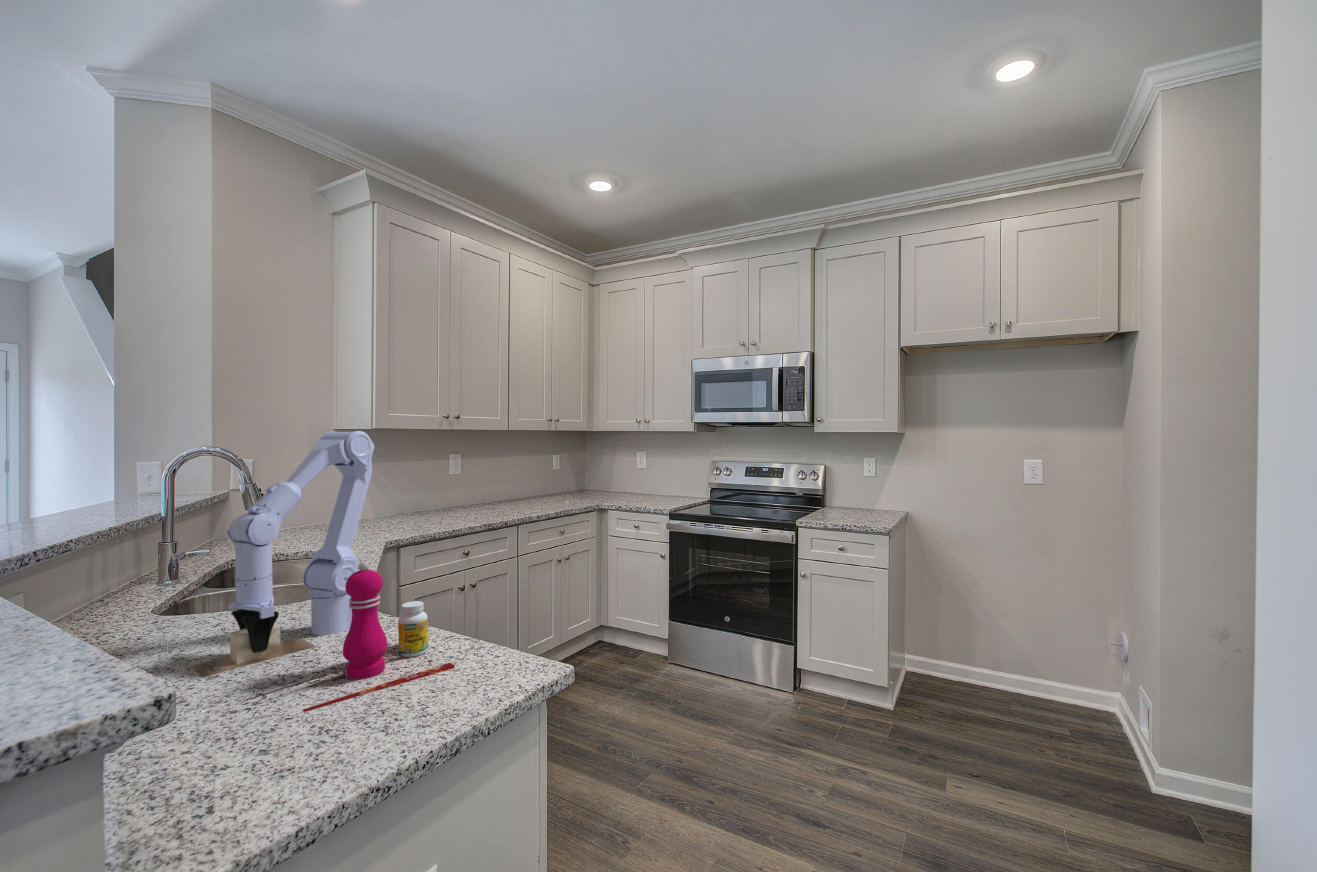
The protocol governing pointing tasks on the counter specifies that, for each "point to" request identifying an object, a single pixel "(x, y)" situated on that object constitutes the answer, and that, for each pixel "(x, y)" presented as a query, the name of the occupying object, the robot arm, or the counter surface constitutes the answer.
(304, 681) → the slate mat
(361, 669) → the pepper mill
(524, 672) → the counter surface
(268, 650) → the cap
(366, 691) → the chopstick
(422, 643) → the supplement bottle
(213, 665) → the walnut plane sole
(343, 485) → the robot arm
